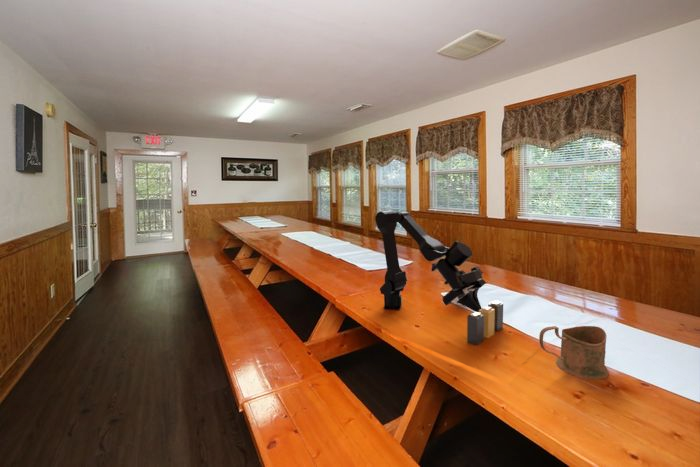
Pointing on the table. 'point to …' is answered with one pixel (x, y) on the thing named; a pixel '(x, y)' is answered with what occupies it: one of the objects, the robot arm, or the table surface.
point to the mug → (581, 351)
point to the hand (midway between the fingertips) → (481, 313)
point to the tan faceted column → (488, 320)
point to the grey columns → (477, 323)
